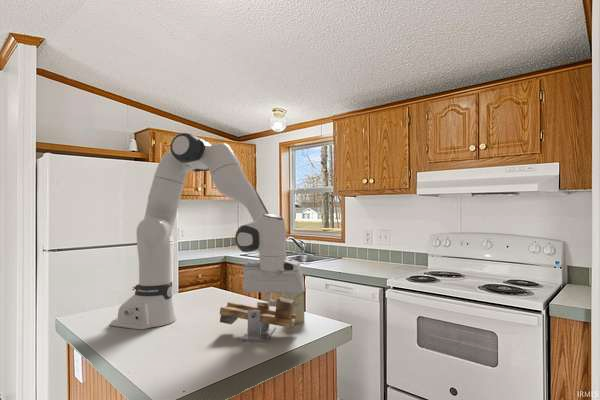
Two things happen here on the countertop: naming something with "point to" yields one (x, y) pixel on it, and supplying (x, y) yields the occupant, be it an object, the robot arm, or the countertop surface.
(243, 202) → the robot arm
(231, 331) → the countertop surface
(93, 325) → the countertop surface
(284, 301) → the block
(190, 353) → the countertop surface
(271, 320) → the beam
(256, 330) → the pivot stand
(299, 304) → the skincare box
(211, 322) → the countertop surface
